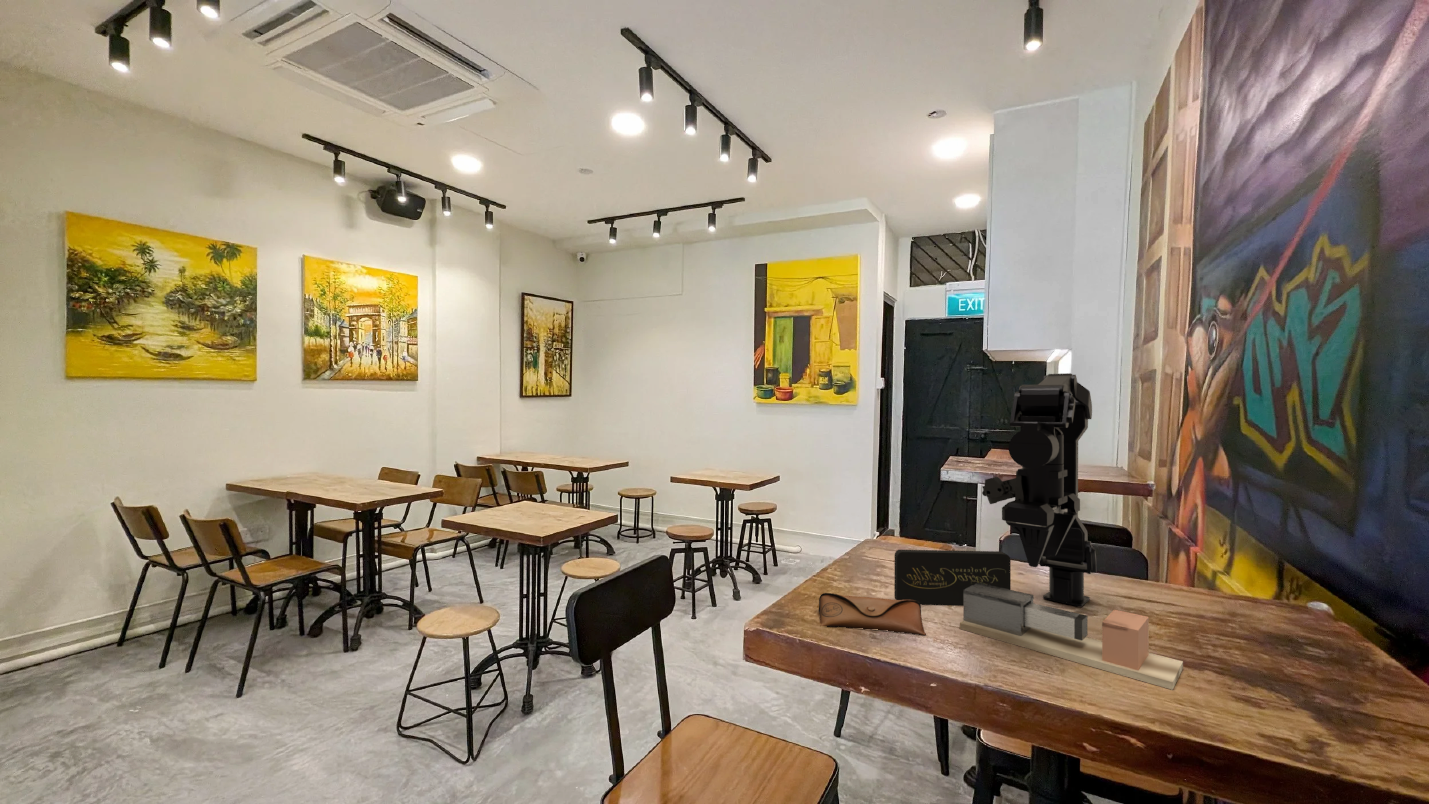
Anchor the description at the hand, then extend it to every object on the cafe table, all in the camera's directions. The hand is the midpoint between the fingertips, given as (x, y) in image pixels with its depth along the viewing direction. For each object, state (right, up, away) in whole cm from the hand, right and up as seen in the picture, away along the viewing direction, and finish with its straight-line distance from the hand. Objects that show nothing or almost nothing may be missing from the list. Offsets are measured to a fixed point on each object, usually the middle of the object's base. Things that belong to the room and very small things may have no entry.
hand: (1042, 560), depth 90 cm
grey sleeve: (-5, -12, +5) cm, 14 cm away
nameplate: (-7, -13, +17) cm, 23 cm away
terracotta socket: (+7, -12, -8) cm, 16 cm away
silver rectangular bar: (-2, -11, +2) cm, 11 cm away
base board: (+2, -13, -2) cm, 13 cm away
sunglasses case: (-25, -13, +8) cm, 30 cm away
